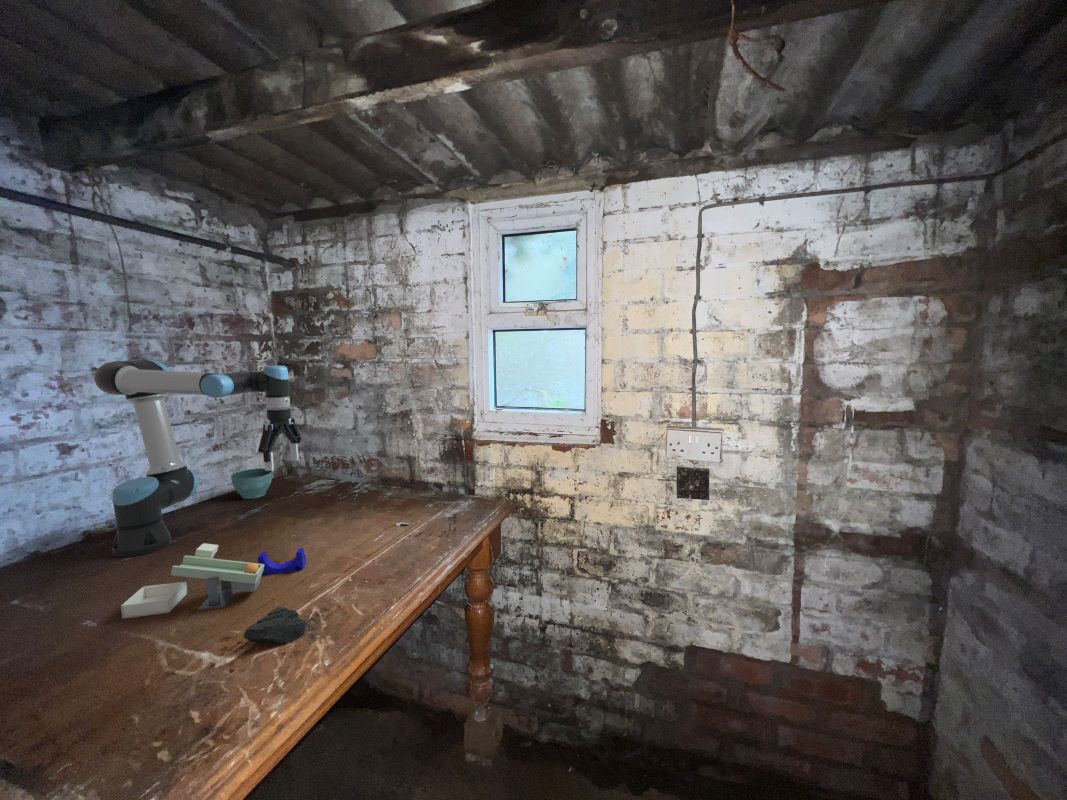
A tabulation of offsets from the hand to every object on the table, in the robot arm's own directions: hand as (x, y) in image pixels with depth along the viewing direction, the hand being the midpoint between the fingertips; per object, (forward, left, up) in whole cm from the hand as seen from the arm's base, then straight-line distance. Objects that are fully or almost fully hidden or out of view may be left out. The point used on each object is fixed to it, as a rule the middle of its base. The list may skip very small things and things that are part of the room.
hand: (282, 465), depth 159 cm
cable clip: (+7, -30, -26) cm, 41 cm away
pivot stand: (-5, -43, -26) cm, 50 cm away
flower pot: (-27, +46, -26) cm, 59 cm away
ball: (+3, -43, -19) cm, 47 cm away
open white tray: (-20, -43, -26) cm, 54 cm away
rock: (+15, -64, -26) cm, 71 cm away
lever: (-6, -39, -21) cm, 45 cm away
